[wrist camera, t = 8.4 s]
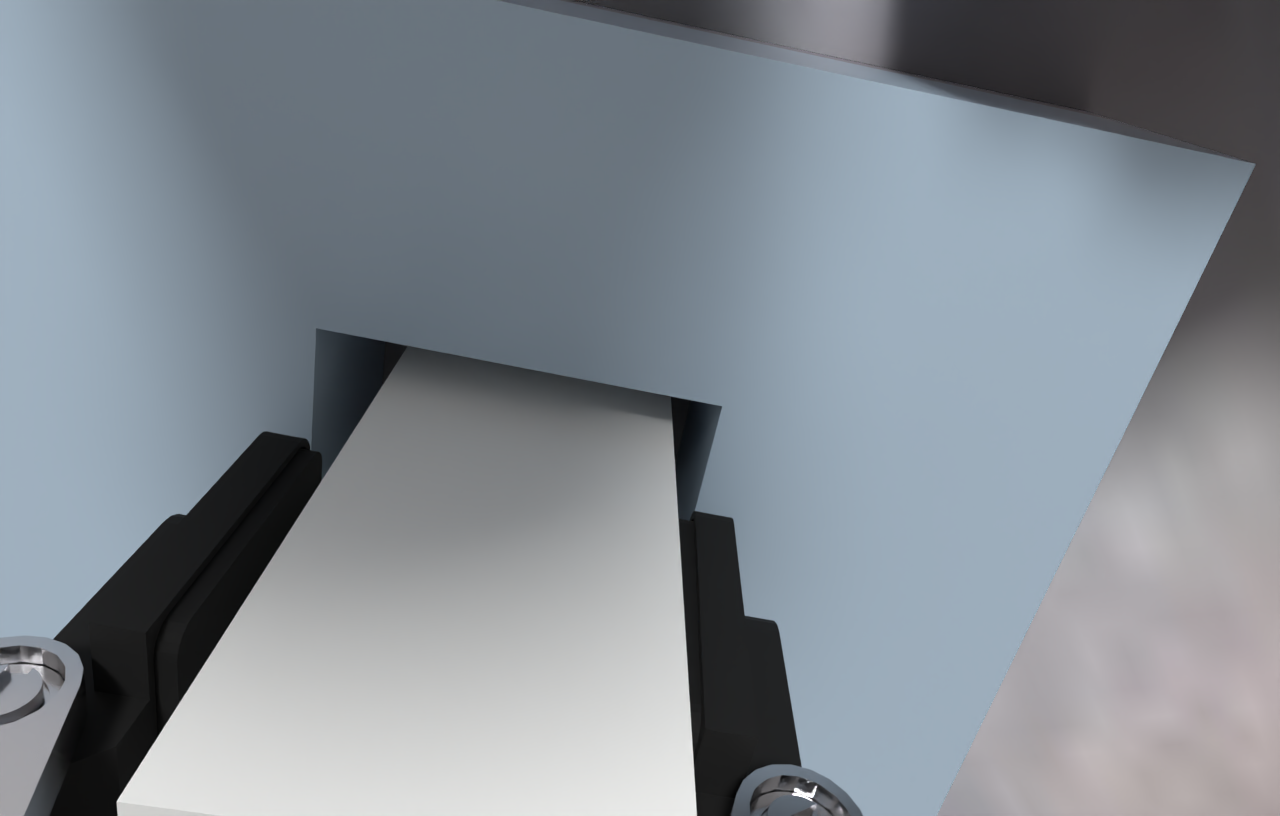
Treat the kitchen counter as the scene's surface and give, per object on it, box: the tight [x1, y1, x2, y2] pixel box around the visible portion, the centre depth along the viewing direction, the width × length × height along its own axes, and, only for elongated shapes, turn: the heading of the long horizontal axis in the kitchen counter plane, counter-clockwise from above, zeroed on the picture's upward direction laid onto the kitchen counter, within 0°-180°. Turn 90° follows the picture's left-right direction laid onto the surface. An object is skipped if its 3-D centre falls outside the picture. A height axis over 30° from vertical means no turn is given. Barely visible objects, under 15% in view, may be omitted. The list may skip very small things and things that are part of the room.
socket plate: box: [0, 0, 1256, 816], centre depth 15 cm, size 16×14×4 cm
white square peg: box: [116, 346, 697, 816], centre depth 11 cm, size 4×4×11 cm
